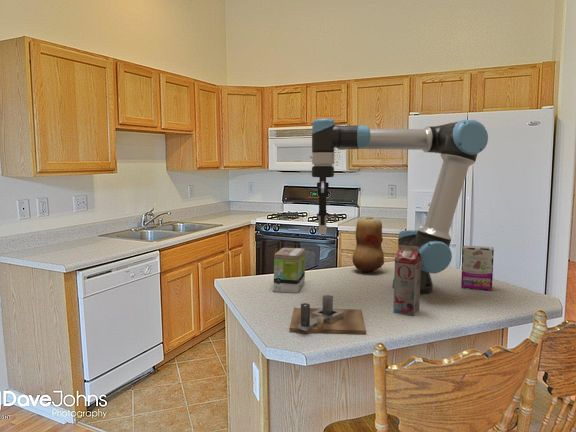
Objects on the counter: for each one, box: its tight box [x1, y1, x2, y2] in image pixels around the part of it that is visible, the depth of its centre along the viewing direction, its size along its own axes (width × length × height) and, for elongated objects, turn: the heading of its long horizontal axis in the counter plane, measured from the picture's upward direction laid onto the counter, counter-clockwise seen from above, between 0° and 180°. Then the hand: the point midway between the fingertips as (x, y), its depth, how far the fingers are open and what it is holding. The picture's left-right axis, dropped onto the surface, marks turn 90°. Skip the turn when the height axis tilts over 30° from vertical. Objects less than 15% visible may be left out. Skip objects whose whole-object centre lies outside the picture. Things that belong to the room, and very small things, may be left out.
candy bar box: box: [460, 245, 495, 292], centre depth 169 cm, size 11×5×16 cm, turn 68°
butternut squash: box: [352, 216, 385, 273], centre depth 194 cm, size 14×13×25 cm
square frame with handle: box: [298, 302, 344, 331], centre depth 130 cm, size 16×7×7 cm, turn 139°
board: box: [288, 294, 367, 335], centre depth 133 cm, size 22×18×8 cm
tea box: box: [273, 247, 306, 294], centre depth 171 cm, size 15×10×15 cm, turn 168°
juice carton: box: [392, 245, 421, 317], centre depth 142 cm, size 7×7×22 cm
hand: (322, 234), depth 150 cm, fingers closed
